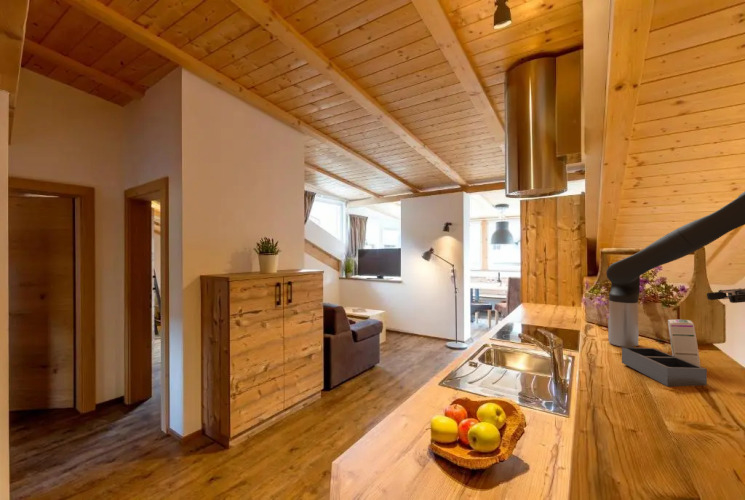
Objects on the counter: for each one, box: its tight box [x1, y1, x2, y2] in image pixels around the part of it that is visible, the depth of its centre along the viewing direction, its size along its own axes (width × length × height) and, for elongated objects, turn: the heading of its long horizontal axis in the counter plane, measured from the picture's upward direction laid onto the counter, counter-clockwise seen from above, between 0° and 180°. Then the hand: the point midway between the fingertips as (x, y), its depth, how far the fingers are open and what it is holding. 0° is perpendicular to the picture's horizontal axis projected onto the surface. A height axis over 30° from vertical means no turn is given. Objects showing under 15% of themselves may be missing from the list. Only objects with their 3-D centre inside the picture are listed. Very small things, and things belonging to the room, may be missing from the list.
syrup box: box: [667, 318, 702, 367], centre depth 100 cm, size 6×6×14 cm
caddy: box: [621, 346, 708, 387], centre depth 95 cm, size 18×10×5 cm, turn 174°
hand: (718, 297), depth 98 cm, fingers open, 8 cm apart
